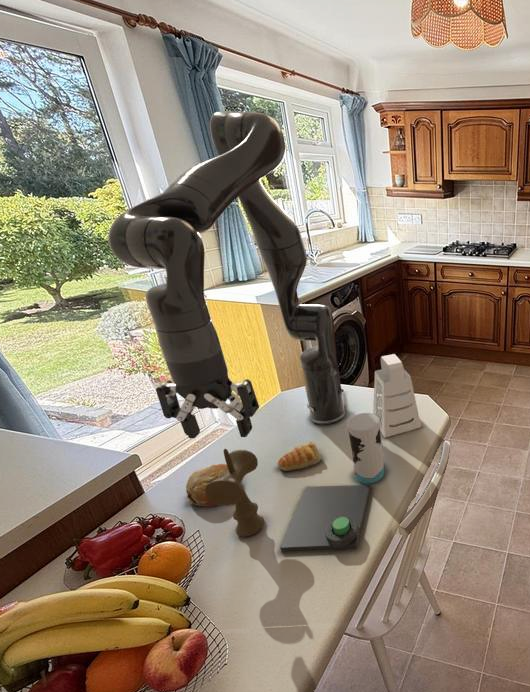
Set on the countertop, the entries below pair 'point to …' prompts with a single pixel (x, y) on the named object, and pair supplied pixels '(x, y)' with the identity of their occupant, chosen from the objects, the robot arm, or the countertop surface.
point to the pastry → (300, 457)
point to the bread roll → (203, 484)
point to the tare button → (341, 526)
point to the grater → (394, 397)
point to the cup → (366, 447)
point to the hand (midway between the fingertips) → (220, 435)
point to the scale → (327, 518)
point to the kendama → (237, 491)
